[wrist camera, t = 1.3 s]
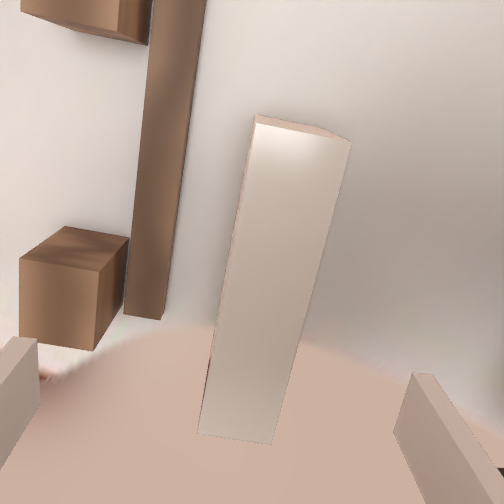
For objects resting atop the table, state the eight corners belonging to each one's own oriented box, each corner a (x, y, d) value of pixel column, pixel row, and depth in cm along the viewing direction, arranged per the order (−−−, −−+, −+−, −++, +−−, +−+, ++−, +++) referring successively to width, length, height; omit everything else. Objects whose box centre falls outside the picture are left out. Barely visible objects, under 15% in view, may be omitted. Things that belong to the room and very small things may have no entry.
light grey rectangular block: (322, 128, 31) (352, 142, 22) (266, 358, 38) (271, 445, 29) (255, 114, 31) (255, 122, 21) (210, 349, 38) (196, 433, 28)
